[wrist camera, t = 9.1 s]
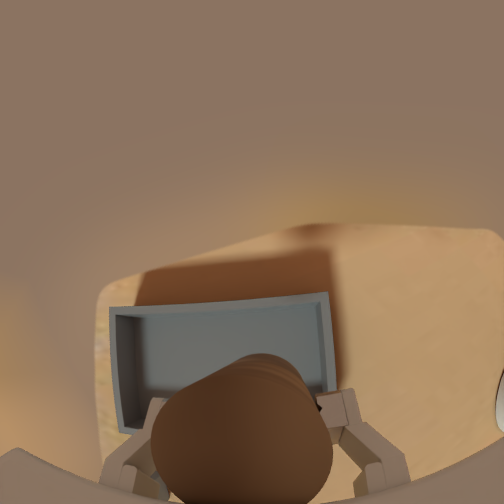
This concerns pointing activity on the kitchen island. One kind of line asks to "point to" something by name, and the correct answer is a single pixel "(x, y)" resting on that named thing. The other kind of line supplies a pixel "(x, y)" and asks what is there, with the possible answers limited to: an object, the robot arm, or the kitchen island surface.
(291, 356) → the tote
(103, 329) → the kitchen island surface
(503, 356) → the kitchen island surface
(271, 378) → the wooden cylinder
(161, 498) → the slate block
